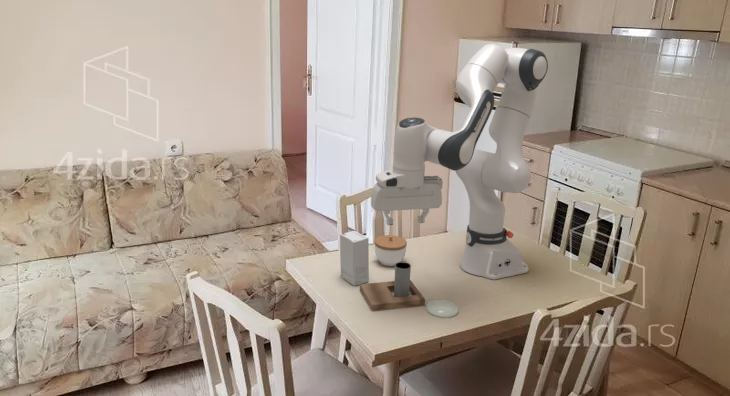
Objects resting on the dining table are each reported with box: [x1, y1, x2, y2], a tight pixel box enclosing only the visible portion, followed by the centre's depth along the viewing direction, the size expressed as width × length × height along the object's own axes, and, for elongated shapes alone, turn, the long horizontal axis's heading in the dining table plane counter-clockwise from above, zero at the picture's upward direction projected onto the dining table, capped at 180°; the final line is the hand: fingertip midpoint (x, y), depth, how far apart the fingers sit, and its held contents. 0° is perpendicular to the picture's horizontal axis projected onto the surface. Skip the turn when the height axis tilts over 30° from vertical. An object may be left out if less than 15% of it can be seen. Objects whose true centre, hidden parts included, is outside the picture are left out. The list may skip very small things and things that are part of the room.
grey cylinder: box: [393, 261, 412, 297], centre depth 176 cm, size 4×4×10 cm
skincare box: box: [339, 230, 370, 287], centre depth 185 cm, size 8×6×15 cm
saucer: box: [426, 299, 459, 319], centre depth 170 cm, size 9×9×1 cm
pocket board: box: [359, 279, 426, 312], centre depth 176 cm, size 16×13×2 cm
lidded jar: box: [374, 234, 408, 267], centre depth 199 cm, size 11×11×9 cm
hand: (405, 223), depth 170 cm, fingers open, 8 cm apart
